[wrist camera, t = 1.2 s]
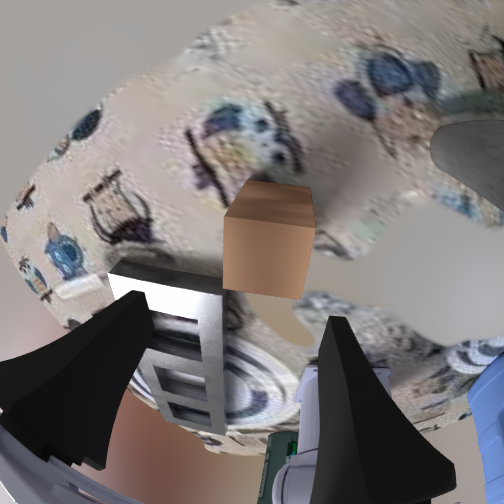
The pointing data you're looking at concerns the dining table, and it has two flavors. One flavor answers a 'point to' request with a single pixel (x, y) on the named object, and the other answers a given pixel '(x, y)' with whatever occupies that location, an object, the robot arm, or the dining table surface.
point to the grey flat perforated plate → (183, 343)
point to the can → (276, 461)
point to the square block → (268, 239)
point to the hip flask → (473, 156)
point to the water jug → (490, 426)
